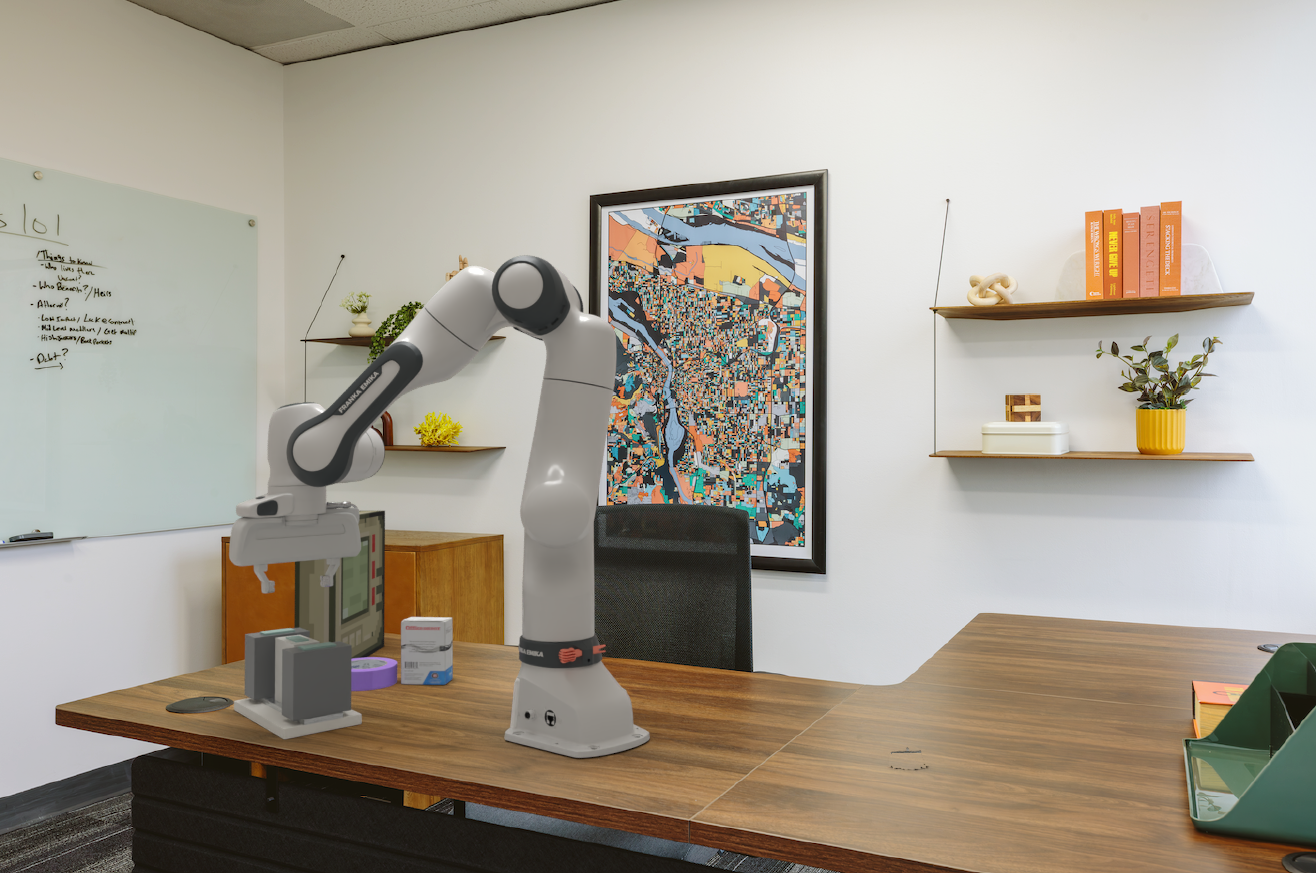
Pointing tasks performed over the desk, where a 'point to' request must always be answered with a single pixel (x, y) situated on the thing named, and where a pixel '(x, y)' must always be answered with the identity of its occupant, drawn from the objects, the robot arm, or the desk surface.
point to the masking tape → (372, 673)
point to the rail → (278, 706)
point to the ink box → (426, 650)
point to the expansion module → (279, 645)
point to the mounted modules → (299, 674)
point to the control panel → (347, 593)
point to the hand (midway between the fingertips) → (298, 589)
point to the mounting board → (287, 727)
